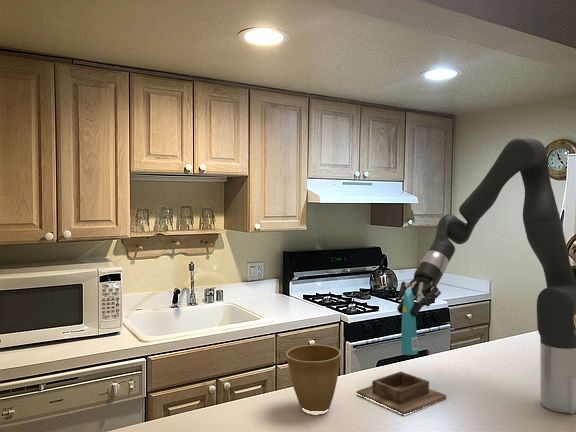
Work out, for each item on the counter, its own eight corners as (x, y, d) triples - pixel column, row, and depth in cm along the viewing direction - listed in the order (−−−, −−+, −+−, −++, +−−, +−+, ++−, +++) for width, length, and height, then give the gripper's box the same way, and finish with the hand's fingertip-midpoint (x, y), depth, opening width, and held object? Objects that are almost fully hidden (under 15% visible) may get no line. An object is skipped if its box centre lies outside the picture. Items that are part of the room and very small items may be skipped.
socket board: (446, 399, 138) (446, 382, 138) (404, 416, 127) (404, 398, 127) (397, 380, 152) (397, 366, 152) (356, 395, 142) (356, 379, 142)
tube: (402, 348, 148) (401, 286, 147) (419, 349, 146) (418, 286, 145) (399, 356, 141) (398, 290, 140) (416, 357, 139) (415, 291, 138)
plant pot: (327, 395, 142) (326, 341, 142) (351, 416, 128) (350, 356, 128) (279, 403, 137) (278, 348, 136) (299, 426, 123) (298, 364, 122)
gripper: (407, 258, 153) (381, 302, 146) (445, 262, 141) (418, 310, 135) (419, 273, 156) (393, 316, 150) (456, 278, 144) (431, 325, 138)
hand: (405, 313), depth 142 cm, fingers closed on tube, 4 cm apart
